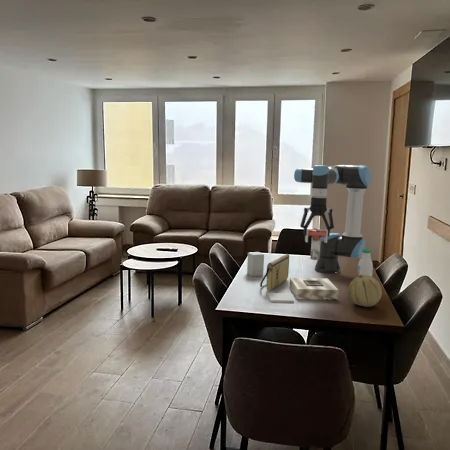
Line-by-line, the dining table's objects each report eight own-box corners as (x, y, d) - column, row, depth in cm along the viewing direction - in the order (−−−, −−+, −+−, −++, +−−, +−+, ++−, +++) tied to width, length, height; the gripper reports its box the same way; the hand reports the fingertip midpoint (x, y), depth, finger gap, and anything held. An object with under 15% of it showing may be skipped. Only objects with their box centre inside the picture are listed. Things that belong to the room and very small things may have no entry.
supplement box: (263, 275, 249) (264, 254, 247) (251, 276, 246) (252, 255, 244) (258, 272, 256) (258, 251, 254) (246, 273, 253) (247, 252, 251)
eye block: (326, 287, 230) (327, 277, 229) (337, 299, 210) (338, 288, 209) (289, 286, 229) (290, 276, 228) (296, 298, 209) (297, 287, 208)
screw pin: (304, 256, 221) (305, 227, 219) (321, 257, 221) (323, 228, 219) (307, 260, 212) (309, 230, 210) (326, 261, 212) (328, 231, 210)
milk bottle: (373, 285, 237) (376, 249, 234) (367, 288, 231) (370, 251, 228) (360, 282, 242) (363, 247, 239) (353, 285, 236) (356, 249, 233)
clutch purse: (277, 277, 247) (278, 251, 244) (289, 279, 243) (290, 253, 241) (256, 290, 221) (258, 262, 218) (269, 293, 217) (270, 264, 215)
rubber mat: (289, 295, 214) (289, 293, 214) (294, 302, 204) (294, 300, 203) (267, 294, 214) (267, 292, 214) (270, 302, 203) (270, 300, 203)
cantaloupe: (387, 310, 197) (390, 278, 195) (359, 312, 193) (362, 280, 191) (367, 299, 211) (370, 270, 209) (341, 301, 207) (343, 271, 205)
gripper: (298, 197, 208) (295, 243, 211) (343, 198, 209) (339, 244, 212) (295, 195, 215) (293, 240, 219) (338, 196, 216) (335, 241, 219)
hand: (316, 242), depth 215 cm, fingers closed on screw pin, 9 cm apart
